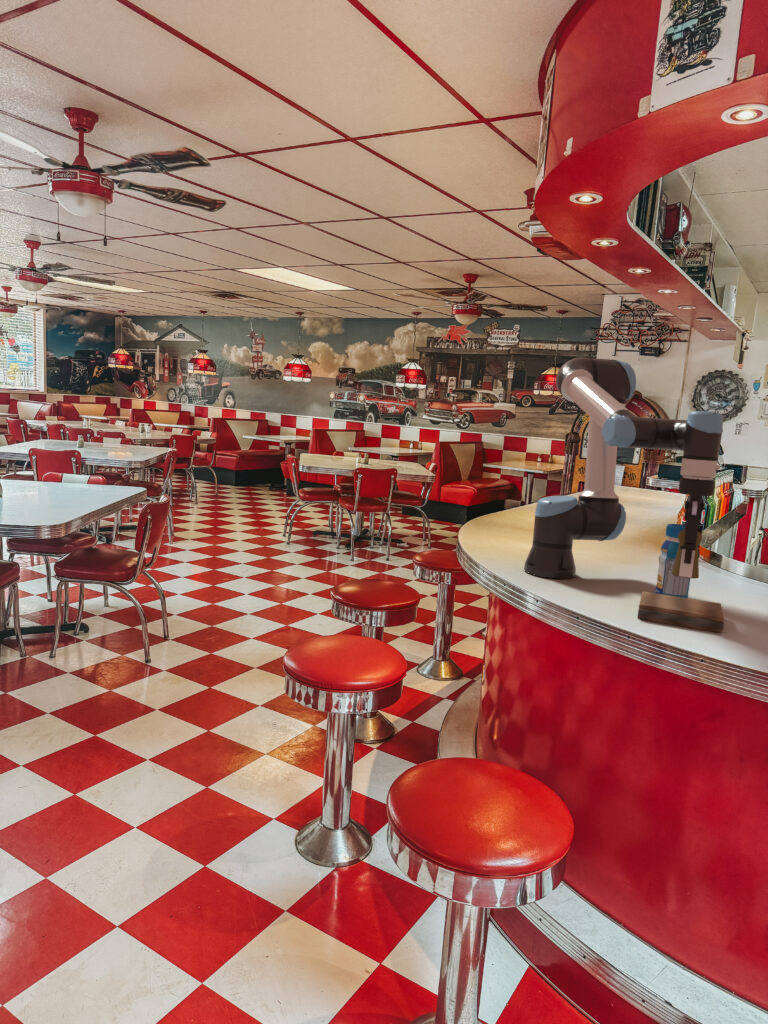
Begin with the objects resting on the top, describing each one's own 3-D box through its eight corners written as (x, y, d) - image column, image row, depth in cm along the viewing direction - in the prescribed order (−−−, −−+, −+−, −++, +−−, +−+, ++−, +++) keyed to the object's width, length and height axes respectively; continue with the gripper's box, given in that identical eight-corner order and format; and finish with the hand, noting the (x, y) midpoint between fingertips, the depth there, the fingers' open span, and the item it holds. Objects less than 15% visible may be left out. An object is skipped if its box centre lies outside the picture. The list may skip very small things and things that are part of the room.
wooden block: (637, 619, 152) (639, 605, 152) (640, 604, 166) (642, 591, 165) (722, 634, 145) (724, 619, 145) (718, 617, 159) (720, 603, 158)
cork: (697, 574, 156) (703, 529, 155) (700, 579, 150) (706, 533, 149) (670, 571, 158) (675, 527, 156) (672, 576, 152) (678, 530, 151)
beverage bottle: (673, 604, 168) (683, 529, 165) (647, 595, 176) (656, 523, 173) (695, 601, 172) (705, 528, 169) (668, 593, 180) (677, 522, 177)
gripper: (717, 481, 141) (703, 584, 144) (713, 477, 158) (701, 569, 161) (680, 478, 144) (667, 579, 147) (680, 474, 161) (668, 564, 164)
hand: (685, 573), depth 154 cm, fingers closed on cork, 6 cm apart
